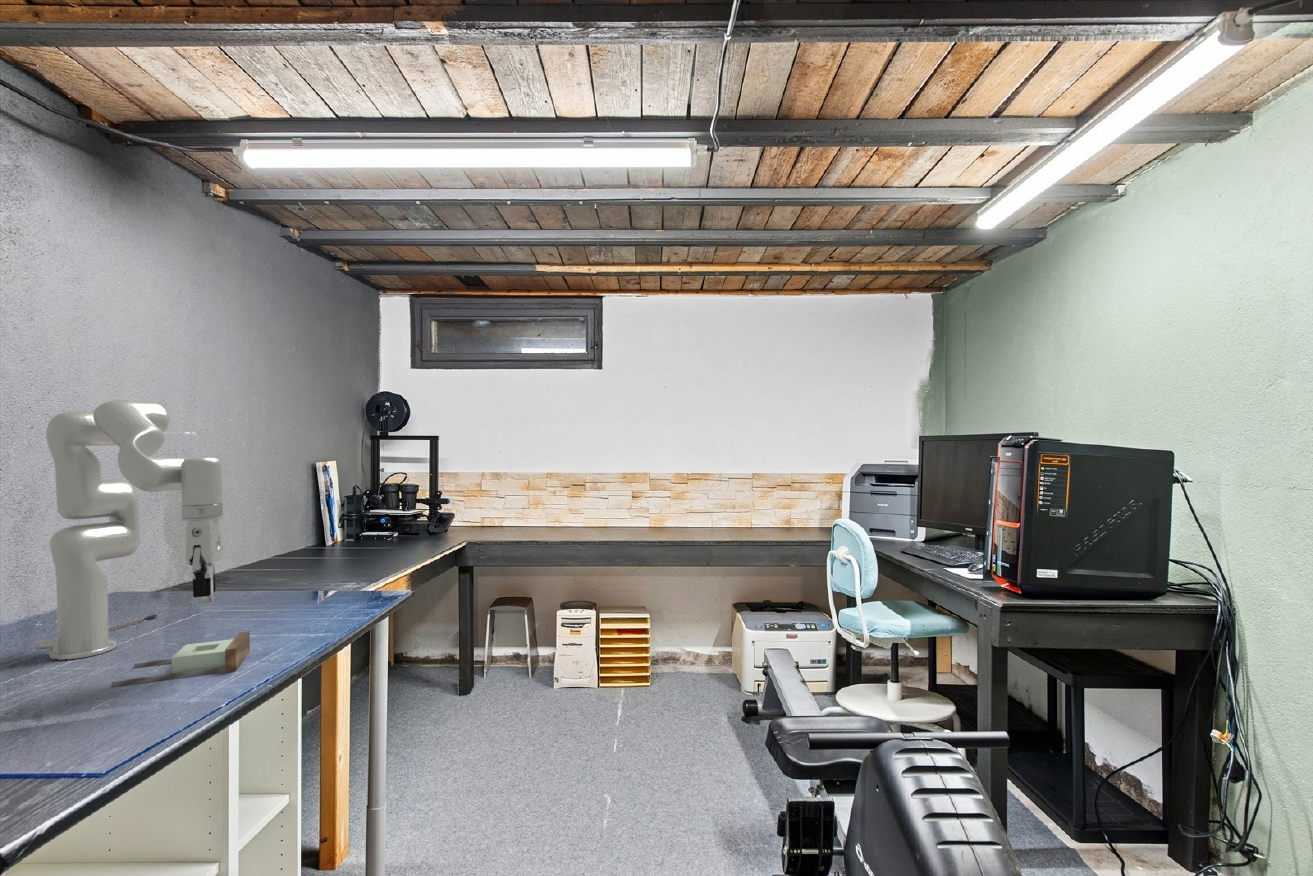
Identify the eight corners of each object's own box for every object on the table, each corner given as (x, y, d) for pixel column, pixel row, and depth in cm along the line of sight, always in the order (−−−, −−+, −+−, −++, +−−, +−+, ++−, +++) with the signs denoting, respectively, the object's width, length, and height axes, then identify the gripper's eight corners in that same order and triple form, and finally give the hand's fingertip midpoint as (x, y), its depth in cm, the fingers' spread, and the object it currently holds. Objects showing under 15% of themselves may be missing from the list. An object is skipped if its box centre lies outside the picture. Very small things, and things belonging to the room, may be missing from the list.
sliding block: (171, 676, 138) (171, 657, 138) (186, 662, 148) (185, 644, 148) (226, 669, 142) (226, 651, 142) (237, 655, 151) (236, 638, 151)
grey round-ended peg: (211, 602, 144) (210, 557, 144) (194, 604, 143) (193, 558, 143) (215, 599, 147) (214, 555, 147) (198, 600, 146) (197, 556, 146)
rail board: (86, 697, 131) (85, 666, 131) (114, 674, 144) (113, 646, 144) (236, 676, 141) (235, 648, 141) (250, 657, 154) (249, 631, 154)
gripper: (212, 514, 139) (214, 600, 139) (230, 508, 154) (232, 585, 154) (170, 517, 136) (172, 604, 136) (193, 510, 152) (195, 589, 151)
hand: (204, 593), depth 145 cm, fingers closed on grey round-ended peg, 3 cm apart
